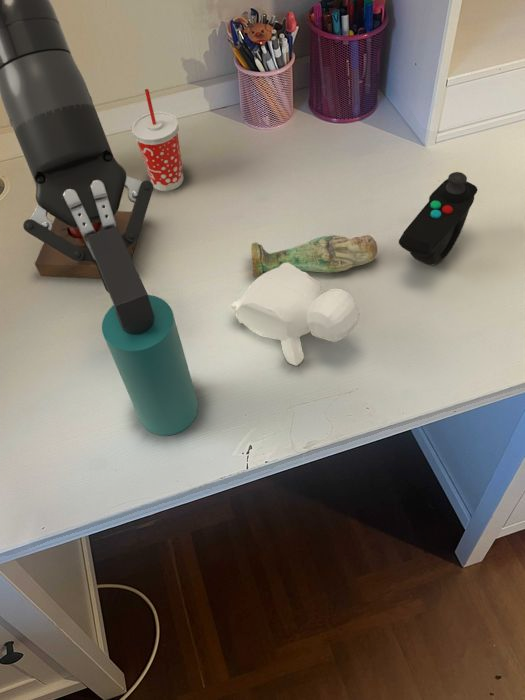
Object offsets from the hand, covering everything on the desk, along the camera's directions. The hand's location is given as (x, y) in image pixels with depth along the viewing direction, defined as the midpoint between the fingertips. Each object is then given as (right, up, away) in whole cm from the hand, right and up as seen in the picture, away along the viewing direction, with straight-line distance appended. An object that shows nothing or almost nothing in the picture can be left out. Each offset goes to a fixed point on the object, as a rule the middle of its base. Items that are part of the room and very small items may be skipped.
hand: (124, 295), depth 63 cm
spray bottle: (+2, -10, +9) cm, 13 cm away
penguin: (+17, -3, +13) cm, 22 cm away
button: (-9, +10, +20) cm, 24 cm away
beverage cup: (0, +19, +30) cm, 35 cm away
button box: (-9, +8, +23) cm, 25 cm away
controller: (+34, +6, +18) cm, 39 cm away
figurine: (+19, +5, +18) cm, 27 cm away
